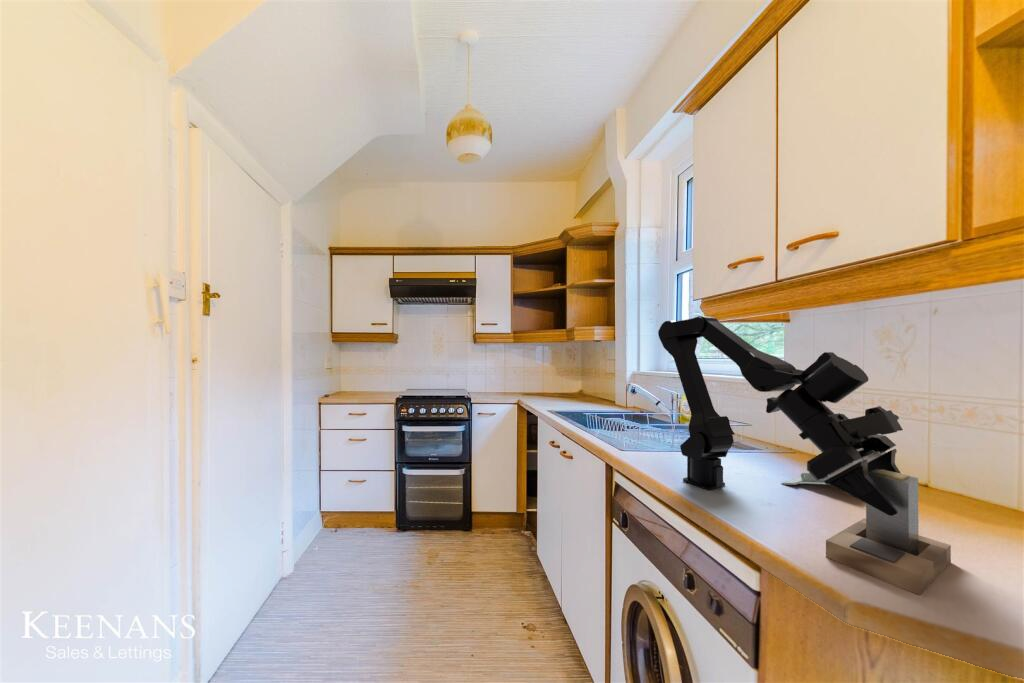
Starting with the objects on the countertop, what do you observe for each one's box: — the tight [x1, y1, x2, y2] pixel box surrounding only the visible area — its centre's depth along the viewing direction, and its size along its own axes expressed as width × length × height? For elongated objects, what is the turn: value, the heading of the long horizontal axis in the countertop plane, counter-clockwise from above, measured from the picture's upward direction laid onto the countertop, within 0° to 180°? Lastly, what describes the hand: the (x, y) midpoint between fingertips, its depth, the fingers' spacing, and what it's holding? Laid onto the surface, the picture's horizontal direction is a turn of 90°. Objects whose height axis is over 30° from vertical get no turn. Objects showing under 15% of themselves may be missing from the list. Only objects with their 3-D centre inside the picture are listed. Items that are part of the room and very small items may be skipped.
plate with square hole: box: [825, 517, 952, 596], centre depth 54 cm, size 10×15×3 cm, turn 120°
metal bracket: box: [780, 472, 831, 486], centre depth 82 cm, size 14×6×15 cm
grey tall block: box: [865, 469, 920, 556], centre depth 55 cm, size 4×4×12 cm
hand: (905, 507), depth 54 cm, fingers open, 9 cm apart
